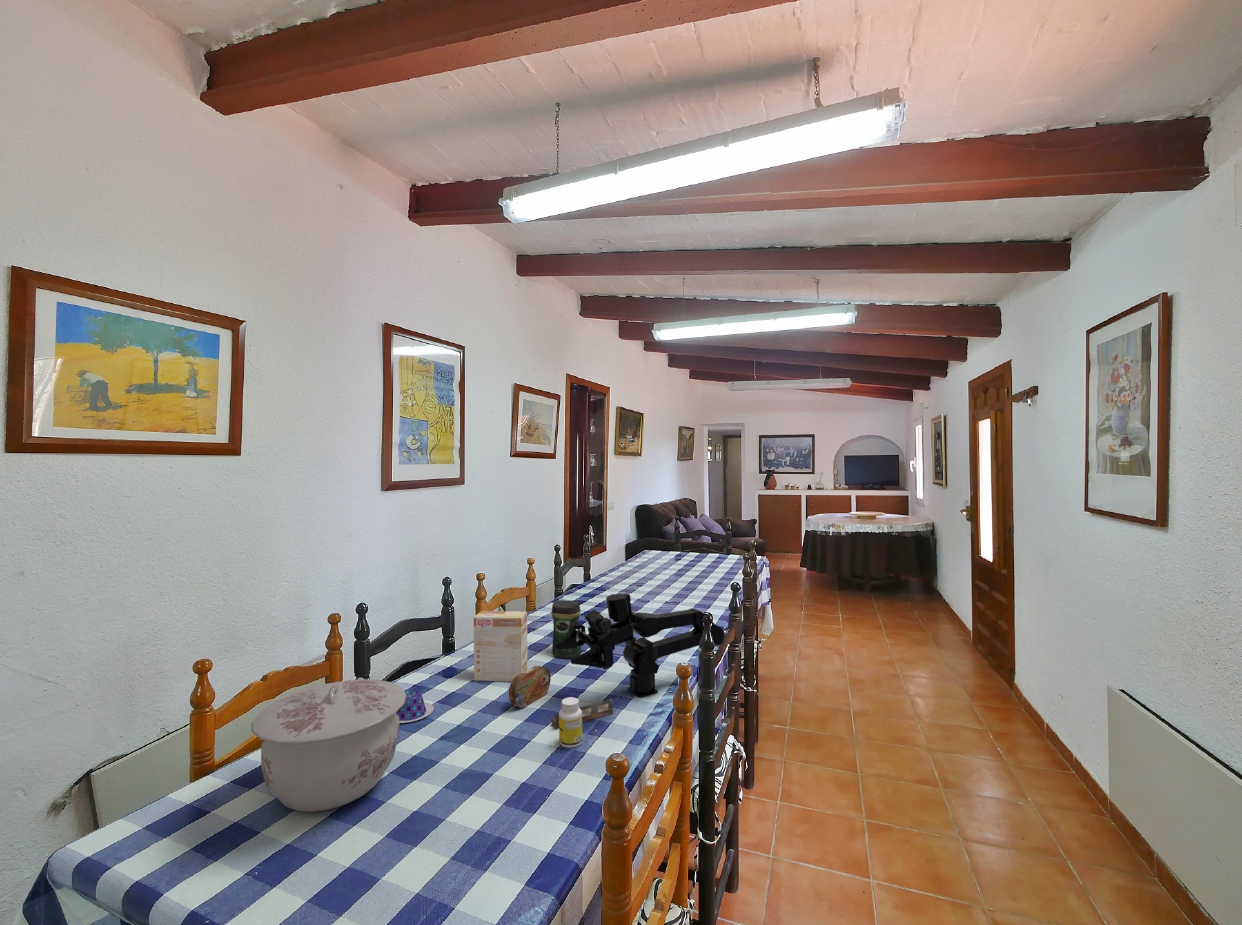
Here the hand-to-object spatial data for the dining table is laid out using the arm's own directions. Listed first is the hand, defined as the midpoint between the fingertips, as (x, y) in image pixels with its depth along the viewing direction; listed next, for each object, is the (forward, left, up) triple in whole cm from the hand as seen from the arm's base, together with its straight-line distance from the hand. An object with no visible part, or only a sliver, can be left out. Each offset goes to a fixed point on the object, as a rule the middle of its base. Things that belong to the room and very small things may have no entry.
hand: (562, 654), depth 139 cm
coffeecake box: (+7, -32, -16) cm, 36 cm away
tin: (+5, -12, -16) cm, 20 cm away
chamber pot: (+53, +6, -16) cm, 55 cm away
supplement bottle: (+4, +14, -16) cm, 22 cm away
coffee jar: (-18, -39, -16) cm, 45 cm away
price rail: (-3, +5, -15) cm, 17 cm away
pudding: (+35, -21, -16) cm, 44 cm away
